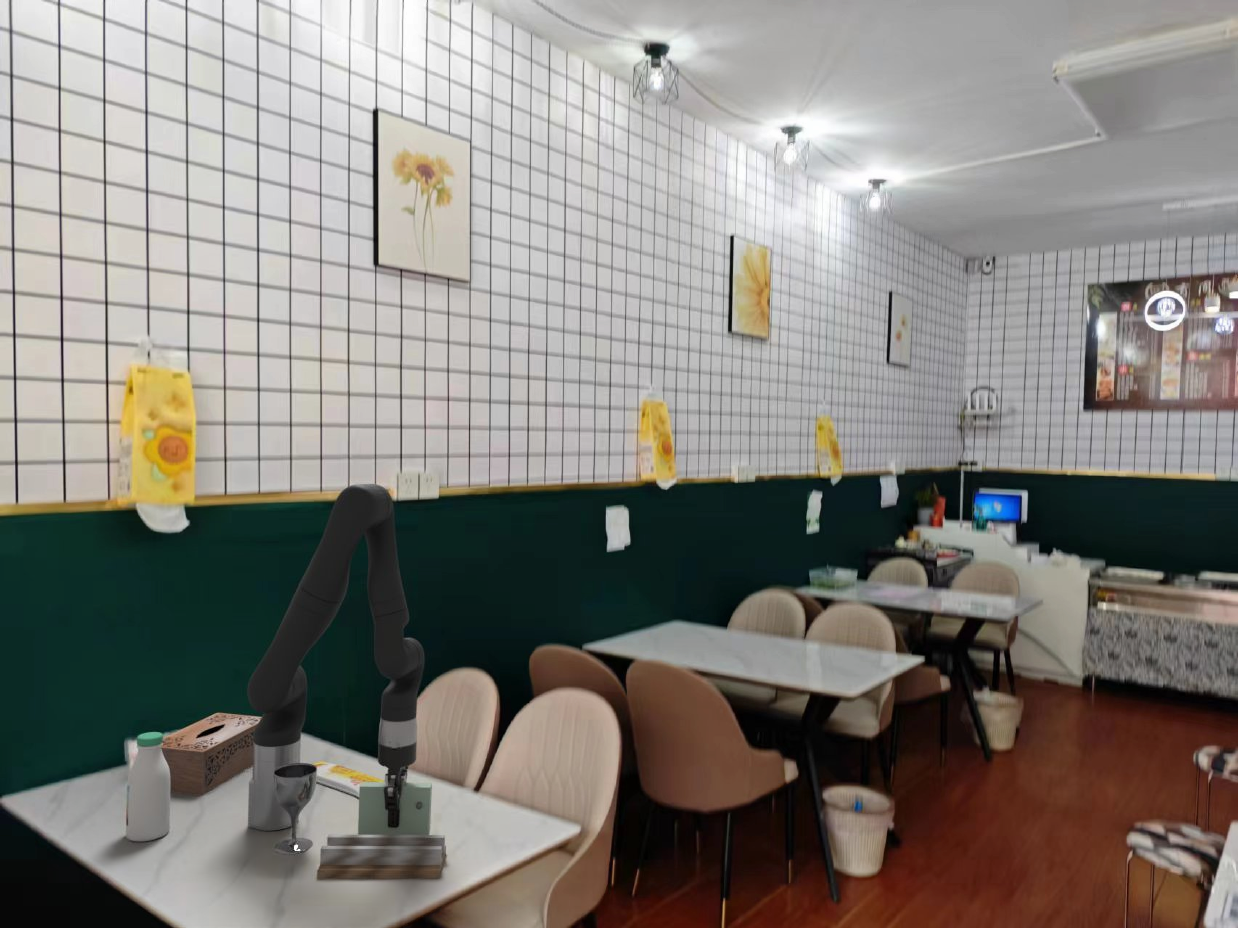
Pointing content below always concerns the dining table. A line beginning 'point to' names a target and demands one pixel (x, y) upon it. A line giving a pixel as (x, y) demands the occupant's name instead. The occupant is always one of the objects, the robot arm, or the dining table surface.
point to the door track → (382, 856)
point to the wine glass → (294, 800)
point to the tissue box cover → (209, 752)
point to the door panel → (411, 812)
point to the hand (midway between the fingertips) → (394, 823)
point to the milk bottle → (148, 791)
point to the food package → (342, 778)
